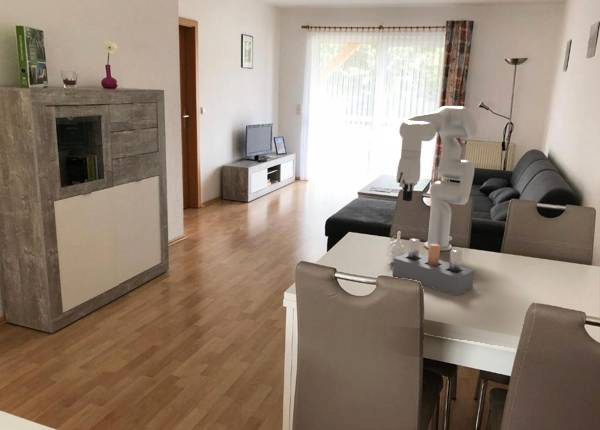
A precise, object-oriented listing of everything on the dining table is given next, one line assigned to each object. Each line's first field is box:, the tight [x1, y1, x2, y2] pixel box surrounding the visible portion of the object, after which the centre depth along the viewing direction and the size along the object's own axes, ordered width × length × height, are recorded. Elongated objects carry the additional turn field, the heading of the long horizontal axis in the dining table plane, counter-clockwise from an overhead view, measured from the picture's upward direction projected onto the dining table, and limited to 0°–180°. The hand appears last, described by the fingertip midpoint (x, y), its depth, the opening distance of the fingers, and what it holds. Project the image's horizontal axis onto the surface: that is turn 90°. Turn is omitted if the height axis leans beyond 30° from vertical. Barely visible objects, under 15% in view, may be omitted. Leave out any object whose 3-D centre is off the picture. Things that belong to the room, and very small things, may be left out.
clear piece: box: [448, 248, 463, 273], centre depth 187 cm, size 4×4×8 cm
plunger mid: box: [427, 244, 441, 267], centre depth 193 cm, size 4×4×8 cm
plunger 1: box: [407, 238, 421, 261], centre depth 199 cm, size 4×4×8 cm
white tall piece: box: [386, 230, 406, 264], centre depth 214 cm, size 8×6×14 cm
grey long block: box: [392, 252, 476, 297], centre depth 195 cm, size 12×28×7 cm, turn 44°
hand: (407, 200), depth 201 cm, fingers closed
